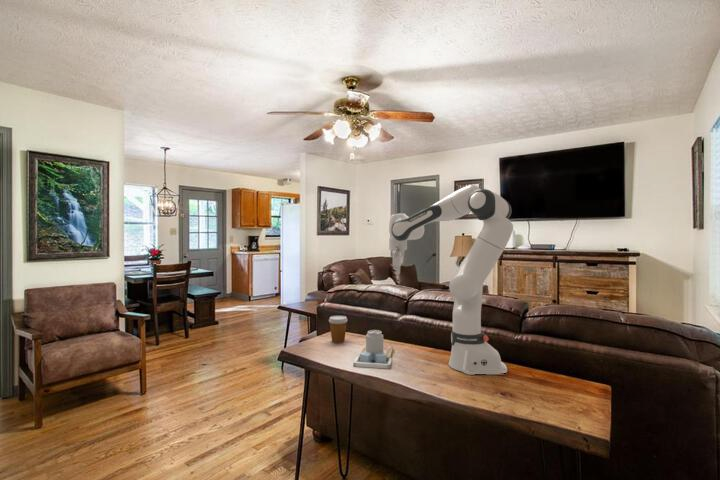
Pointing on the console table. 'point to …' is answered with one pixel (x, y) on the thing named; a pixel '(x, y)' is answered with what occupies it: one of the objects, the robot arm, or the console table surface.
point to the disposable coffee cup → (338, 328)
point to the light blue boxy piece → (380, 358)
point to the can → (374, 342)
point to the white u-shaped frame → (372, 364)
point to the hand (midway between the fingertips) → (398, 274)
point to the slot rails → (388, 354)
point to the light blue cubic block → (366, 357)
